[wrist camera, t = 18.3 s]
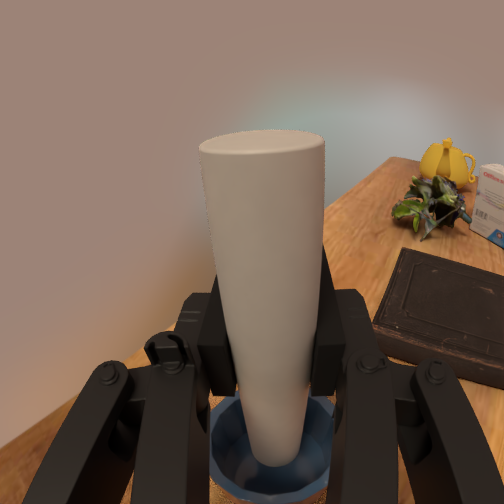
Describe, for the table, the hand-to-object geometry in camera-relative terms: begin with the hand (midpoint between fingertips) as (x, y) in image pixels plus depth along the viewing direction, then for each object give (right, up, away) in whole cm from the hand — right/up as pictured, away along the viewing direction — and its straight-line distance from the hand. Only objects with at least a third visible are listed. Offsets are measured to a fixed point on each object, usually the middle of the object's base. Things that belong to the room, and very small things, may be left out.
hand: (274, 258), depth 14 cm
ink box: (+42, +3, +25) cm, 49 cm away
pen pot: (0, -14, +2) cm, 14 cm away
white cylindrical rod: (0, -11, 0) cm, 11 cm away
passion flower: (+26, +3, +27) cm, 38 cm away
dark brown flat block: (+23, -8, +10) cm, 26 cm away
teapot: (+45, +16, +45) cm, 66 cm away
